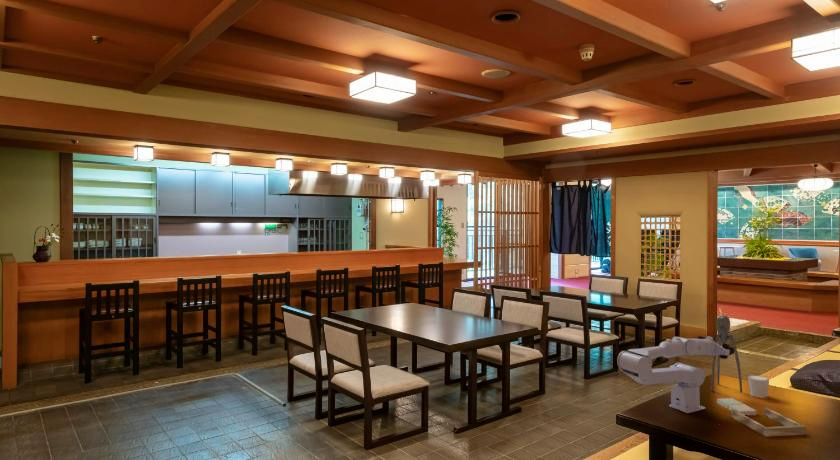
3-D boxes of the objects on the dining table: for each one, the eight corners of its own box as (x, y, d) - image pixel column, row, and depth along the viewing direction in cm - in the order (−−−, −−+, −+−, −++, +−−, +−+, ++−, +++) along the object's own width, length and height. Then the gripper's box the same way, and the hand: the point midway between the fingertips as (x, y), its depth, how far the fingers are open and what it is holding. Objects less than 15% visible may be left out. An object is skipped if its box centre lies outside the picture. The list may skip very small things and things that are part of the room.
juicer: (742, 392, 201) (741, 317, 200) (711, 391, 203) (711, 316, 202) (732, 384, 210) (732, 312, 210) (703, 383, 213) (702, 312, 212)
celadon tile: (717, 404, 191) (716, 398, 191) (732, 403, 192) (732, 398, 191) (727, 410, 185) (727, 404, 185) (743, 409, 186) (743, 403, 185)
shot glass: (768, 394, 199) (768, 376, 198) (769, 400, 193) (769, 381, 193) (748, 391, 202) (747, 374, 202) (748, 396, 196) (748, 379, 196)
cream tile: (728, 410, 185) (728, 405, 185) (744, 409, 185) (744, 404, 185) (740, 417, 179) (740, 411, 179) (756, 416, 179) (756, 410, 179)
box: (731, 416, 178) (731, 409, 178) (767, 414, 179) (767, 407, 179) (765, 436, 162) (765, 428, 162) (805, 434, 163) (805, 426, 163)
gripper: (720, 341, 183) (743, 342, 189) (684, 331, 196) (707, 332, 202) (716, 360, 183) (740, 361, 189) (681, 349, 196) (704, 349, 202)
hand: (723, 347), depth 195 cm, fingers open, 7 cm apart
